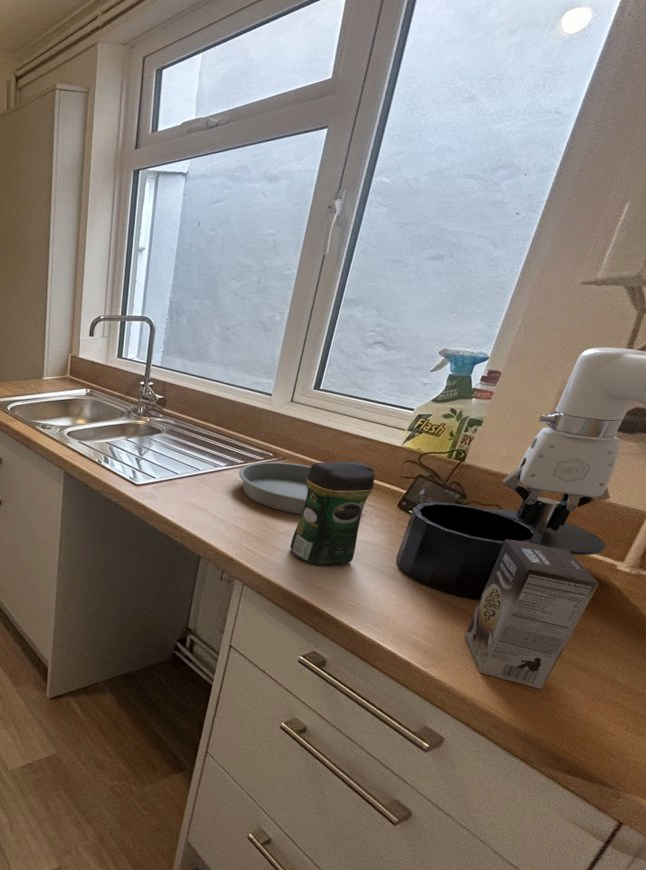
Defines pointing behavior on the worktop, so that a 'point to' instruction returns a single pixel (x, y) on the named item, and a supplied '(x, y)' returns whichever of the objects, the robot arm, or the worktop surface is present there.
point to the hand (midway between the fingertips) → (537, 524)
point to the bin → (457, 546)
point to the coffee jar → (332, 512)
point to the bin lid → (559, 530)
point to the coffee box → (528, 612)
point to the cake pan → (276, 485)
